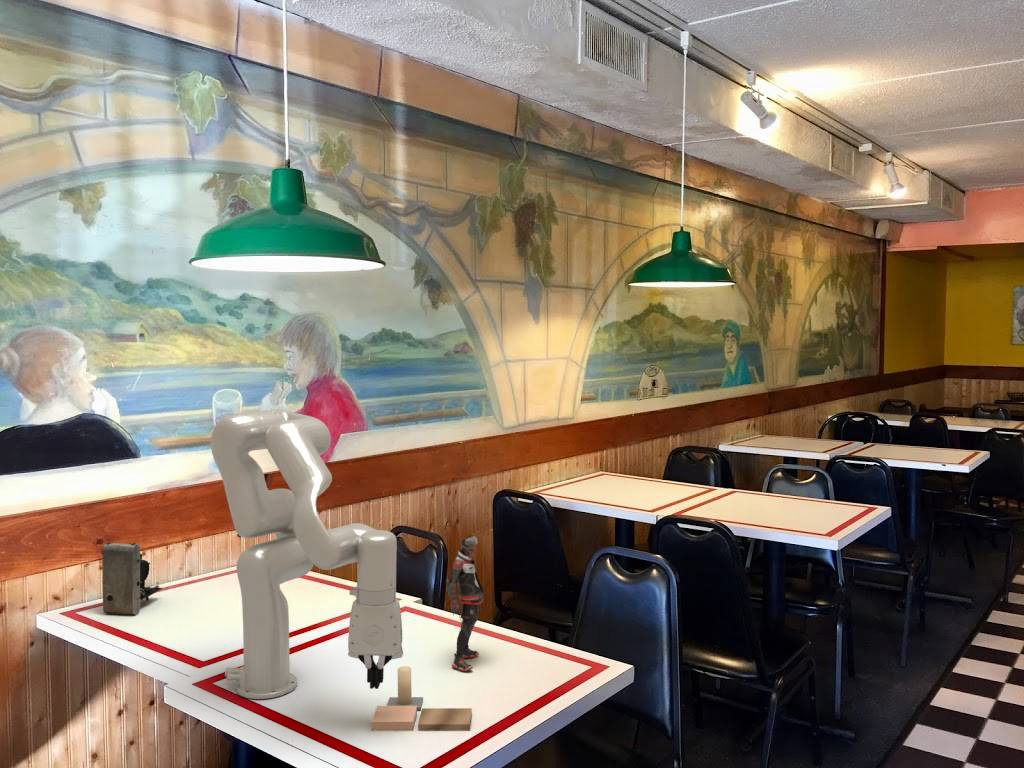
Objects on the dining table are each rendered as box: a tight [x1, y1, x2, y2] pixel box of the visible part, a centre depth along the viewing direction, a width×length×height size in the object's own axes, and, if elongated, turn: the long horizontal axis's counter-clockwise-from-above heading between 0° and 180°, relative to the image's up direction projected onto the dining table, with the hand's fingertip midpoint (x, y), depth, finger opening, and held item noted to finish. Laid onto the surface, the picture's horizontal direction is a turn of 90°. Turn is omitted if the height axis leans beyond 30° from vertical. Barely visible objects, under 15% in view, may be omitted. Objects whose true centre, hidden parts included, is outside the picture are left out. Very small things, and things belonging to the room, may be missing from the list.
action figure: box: [445, 536, 486, 672], centre depth 194 cm, size 10×11×30 cm
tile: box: [371, 705, 418, 732], centre depth 165 cm, size 2×7×8 cm
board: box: [417, 707, 473, 731], centre depth 165 cm, size 10×7×1 cm
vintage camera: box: [101, 541, 163, 616], centre depth 236 cm, size 10×16×20 cm, turn 172°
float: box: [386, 665, 424, 712], centre depth 172 cm, size 7×5×8 cm
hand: (375, 685), depth 165 cm, fingers closed
